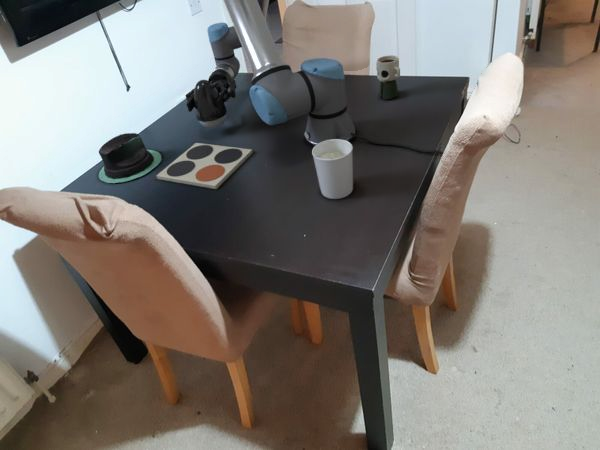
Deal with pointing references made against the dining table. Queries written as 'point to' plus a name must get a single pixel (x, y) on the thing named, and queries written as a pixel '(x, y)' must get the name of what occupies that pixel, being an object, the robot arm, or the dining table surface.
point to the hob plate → (205, 165)
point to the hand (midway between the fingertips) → (203, 106)
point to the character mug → (388, 75)
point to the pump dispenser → (208, 104)
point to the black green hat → (126, 158)
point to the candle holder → (334, 167)
